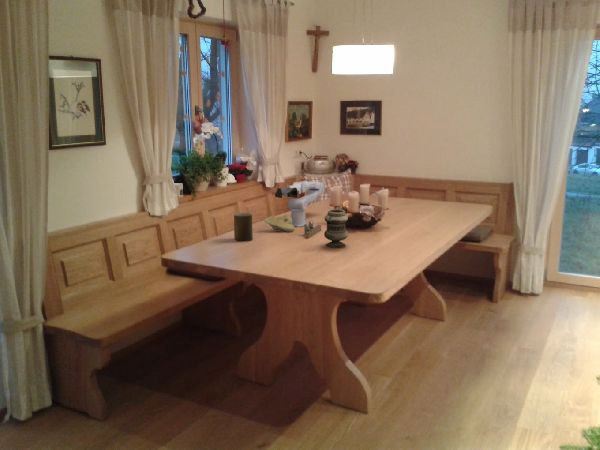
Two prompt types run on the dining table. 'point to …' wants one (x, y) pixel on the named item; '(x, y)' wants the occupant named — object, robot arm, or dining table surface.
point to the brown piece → (311, 229)
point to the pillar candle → (243, 227)
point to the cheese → (280, 223)
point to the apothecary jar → (336, 227)
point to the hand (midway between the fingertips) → (281, 195)
